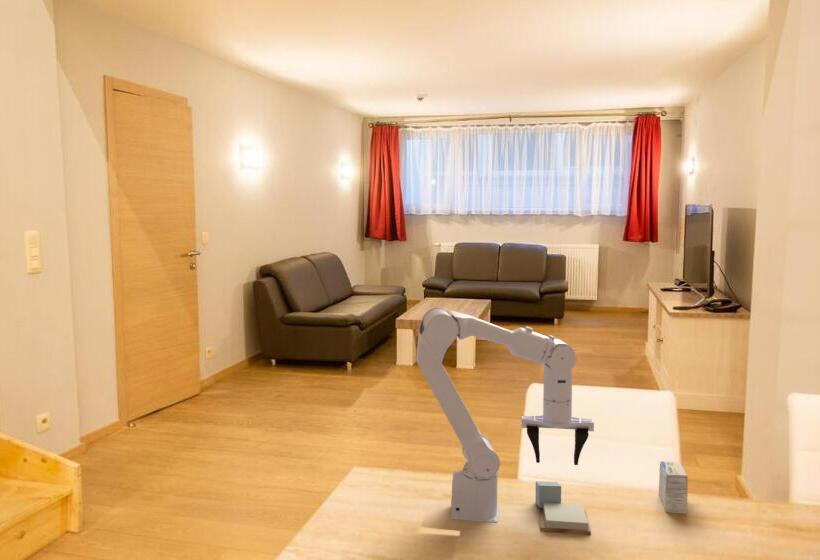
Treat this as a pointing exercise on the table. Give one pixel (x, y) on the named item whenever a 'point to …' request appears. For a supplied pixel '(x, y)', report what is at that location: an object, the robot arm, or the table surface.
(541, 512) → the tower base
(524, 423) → the robot arm
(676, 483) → the medicine box
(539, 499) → the cube
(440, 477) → the table surface
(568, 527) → the tower top
